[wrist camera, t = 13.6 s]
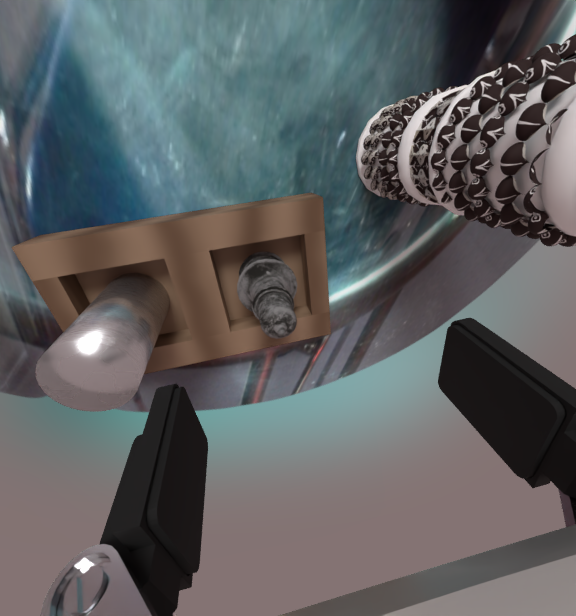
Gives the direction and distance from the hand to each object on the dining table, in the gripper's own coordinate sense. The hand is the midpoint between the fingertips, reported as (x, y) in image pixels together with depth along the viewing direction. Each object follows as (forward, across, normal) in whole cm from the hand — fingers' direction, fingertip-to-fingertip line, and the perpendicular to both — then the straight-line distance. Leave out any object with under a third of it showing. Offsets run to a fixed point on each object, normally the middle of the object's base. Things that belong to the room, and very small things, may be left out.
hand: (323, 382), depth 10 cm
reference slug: (+21, +14, +4) cm, 26 cm away
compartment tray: (+23, +7, +5) cm, 24 cm away
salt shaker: (+22, +1, +5) cm, 22 cm away
